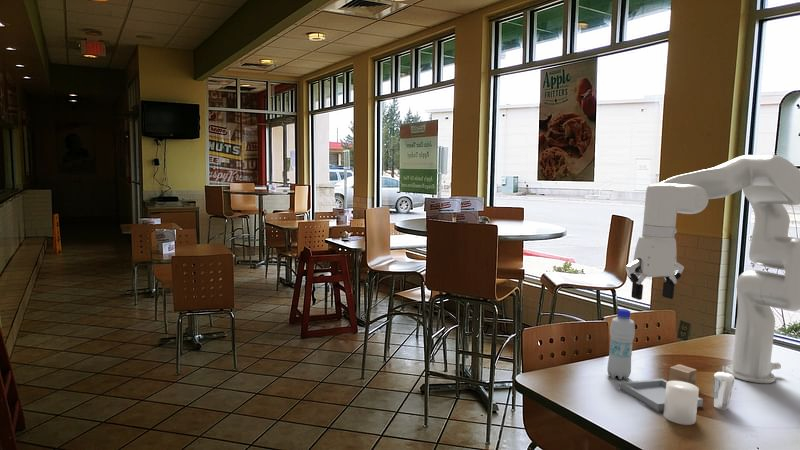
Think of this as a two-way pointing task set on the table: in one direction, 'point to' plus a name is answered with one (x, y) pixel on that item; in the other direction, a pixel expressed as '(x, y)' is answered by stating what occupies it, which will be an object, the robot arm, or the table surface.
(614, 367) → the bottle
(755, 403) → the table surface
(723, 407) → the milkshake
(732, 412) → the table surface
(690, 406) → the white squat cylinder
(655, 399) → the tray
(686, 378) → the walnut block
